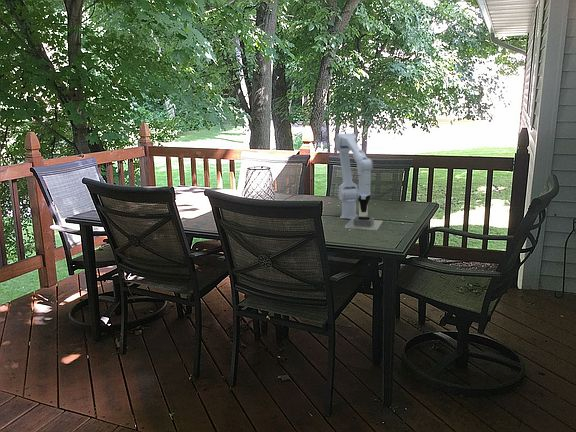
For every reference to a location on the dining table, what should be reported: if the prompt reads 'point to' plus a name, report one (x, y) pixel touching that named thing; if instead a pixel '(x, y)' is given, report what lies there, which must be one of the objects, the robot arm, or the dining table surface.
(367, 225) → the socket
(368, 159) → the robot arm
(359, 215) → the plug
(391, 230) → the dining table surface
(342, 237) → the dining table surface
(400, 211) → the dining table surface
